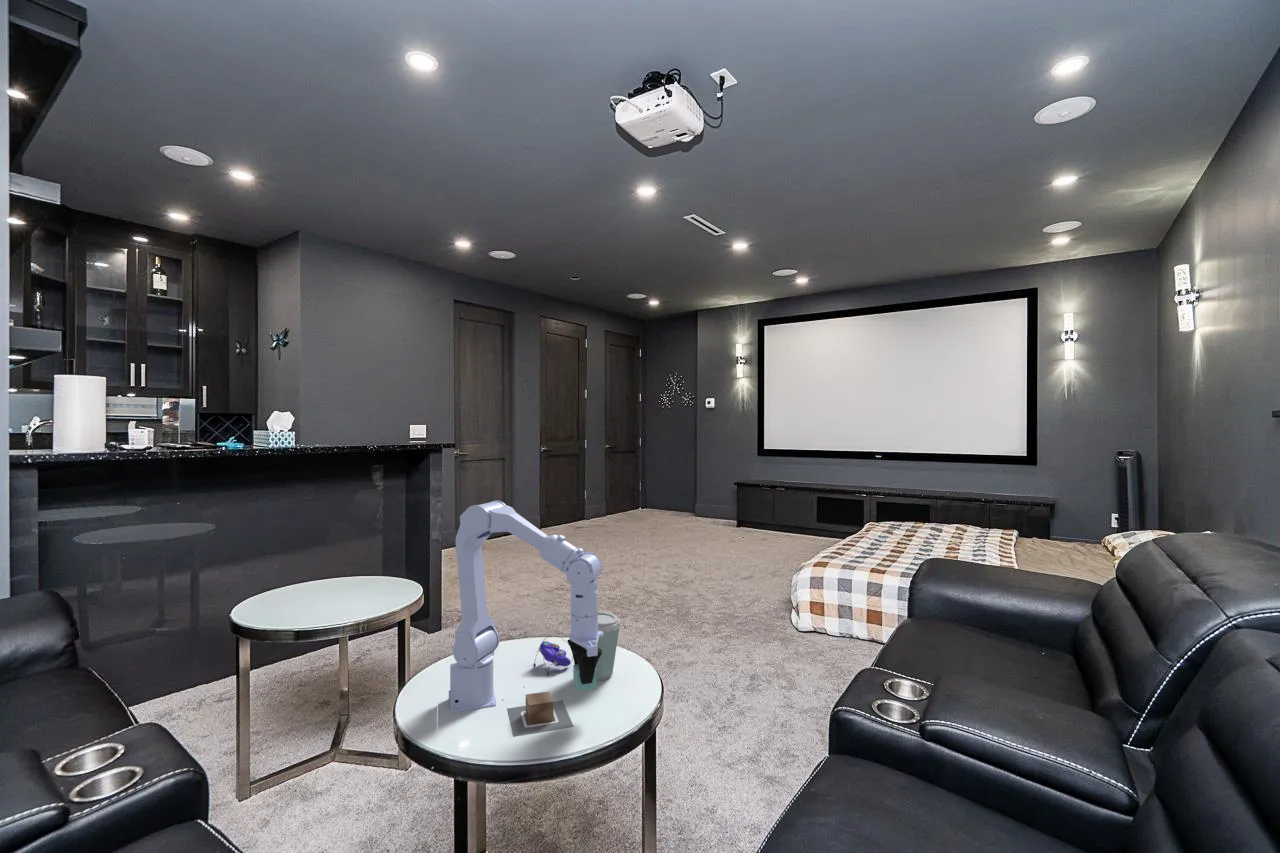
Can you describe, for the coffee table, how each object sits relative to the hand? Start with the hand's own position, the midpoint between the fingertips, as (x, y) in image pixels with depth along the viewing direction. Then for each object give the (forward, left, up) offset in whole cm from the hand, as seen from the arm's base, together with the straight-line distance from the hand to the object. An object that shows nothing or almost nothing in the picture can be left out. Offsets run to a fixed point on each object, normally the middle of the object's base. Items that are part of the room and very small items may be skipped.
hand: (584, 678), depth 122 cm
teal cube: (0, 0, -2) cm, 2 cm away
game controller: (-2, +27, -9) cm, 29 cm away
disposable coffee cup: (+8, +19, -9) cm, 22 cm away
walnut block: (-9, +3, -8) cm, 12 cm away
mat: (-9, +3, -8) cm, 13 cm away
